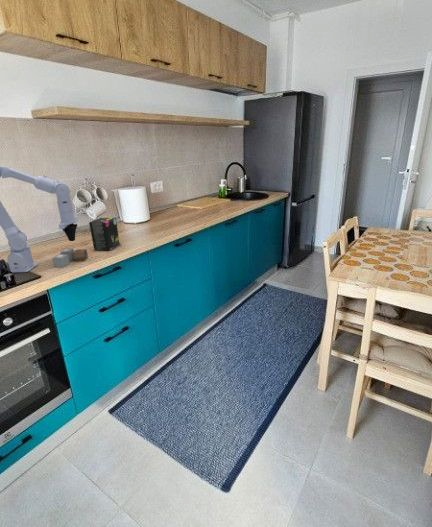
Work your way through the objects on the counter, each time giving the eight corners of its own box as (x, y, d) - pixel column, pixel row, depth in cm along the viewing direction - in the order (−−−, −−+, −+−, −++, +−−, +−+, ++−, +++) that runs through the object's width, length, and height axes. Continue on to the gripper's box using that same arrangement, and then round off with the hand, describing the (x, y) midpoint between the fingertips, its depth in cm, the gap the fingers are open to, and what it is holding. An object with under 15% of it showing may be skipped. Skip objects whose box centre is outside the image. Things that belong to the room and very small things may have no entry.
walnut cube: (84, 261, 142) (82, 252, 140) (74, 261, 142) (72, 252, 140) (88, 258, 146) (86, 249, 145) (78, 258, 146) (76, 249, 145)
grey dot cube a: (72, 260, 144) (70, 251, 142) (62, 261, 143) (60, 252, 141) (75, 257, 148) (73, 248, 146) (65, 258, 147) (62, 249, 146)
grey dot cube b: (63, 267, 135) (60, 257, 134) (54, 267, 136) (52, 257, 135) (69, 264, 139) (67, 254, 138) (61, 263, 141) (59, 253, 139)
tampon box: (110, 251, 155) (105, 222, 150) (93, 250, 157) (88, 222, 152) (120, 244, 165) (116, 217, 160) (104, 244, 167) (100, 217, 162)
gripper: (68, 214, 131) (74, 245, 135) (81, 207, 144) (86, 236, 149) (51, 214, 131) (58, 245, 135) (66, 208, 144) (72, 236, 149)
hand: (72, 240), depth 142 cm, fingers closed
